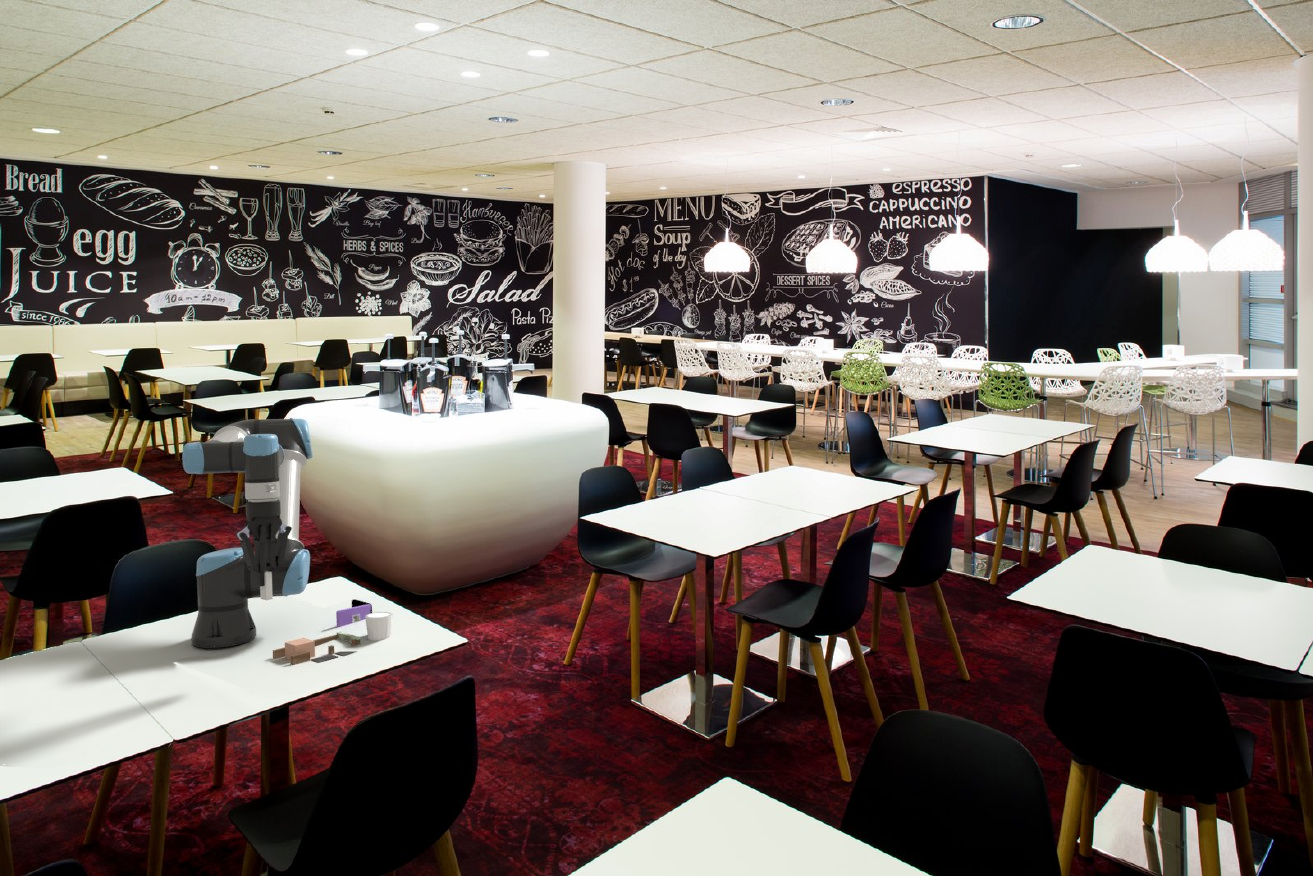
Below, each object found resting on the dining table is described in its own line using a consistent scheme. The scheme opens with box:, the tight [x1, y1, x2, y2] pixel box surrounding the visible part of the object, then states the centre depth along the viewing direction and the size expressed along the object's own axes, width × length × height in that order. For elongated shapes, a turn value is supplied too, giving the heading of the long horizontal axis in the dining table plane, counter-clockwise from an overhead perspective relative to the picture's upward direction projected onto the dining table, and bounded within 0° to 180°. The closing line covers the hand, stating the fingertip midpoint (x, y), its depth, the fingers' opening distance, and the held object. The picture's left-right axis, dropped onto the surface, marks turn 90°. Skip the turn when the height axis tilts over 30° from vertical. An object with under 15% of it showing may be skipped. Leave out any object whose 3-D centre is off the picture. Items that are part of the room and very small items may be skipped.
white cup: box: [364, 611, 394, 641], centre depth 235 cm, size 7×7×7 cm
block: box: [284, 637, 316, 661], centre depth 222 cm, size 5×5×4 cm
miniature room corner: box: [335, 598, 373, 628], centre depth 249 cm, size 12×12×7 cm
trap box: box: [272, 631, 362, 666], centre depth 225 cm, size 12×18×2 cm
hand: (266, 598), depth 215 cm, fingers closed
